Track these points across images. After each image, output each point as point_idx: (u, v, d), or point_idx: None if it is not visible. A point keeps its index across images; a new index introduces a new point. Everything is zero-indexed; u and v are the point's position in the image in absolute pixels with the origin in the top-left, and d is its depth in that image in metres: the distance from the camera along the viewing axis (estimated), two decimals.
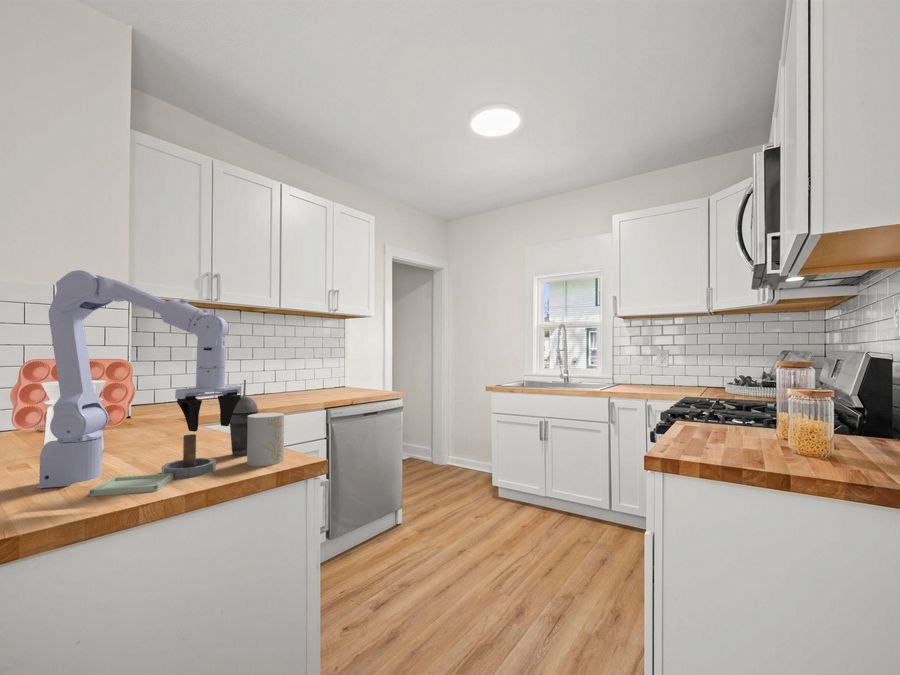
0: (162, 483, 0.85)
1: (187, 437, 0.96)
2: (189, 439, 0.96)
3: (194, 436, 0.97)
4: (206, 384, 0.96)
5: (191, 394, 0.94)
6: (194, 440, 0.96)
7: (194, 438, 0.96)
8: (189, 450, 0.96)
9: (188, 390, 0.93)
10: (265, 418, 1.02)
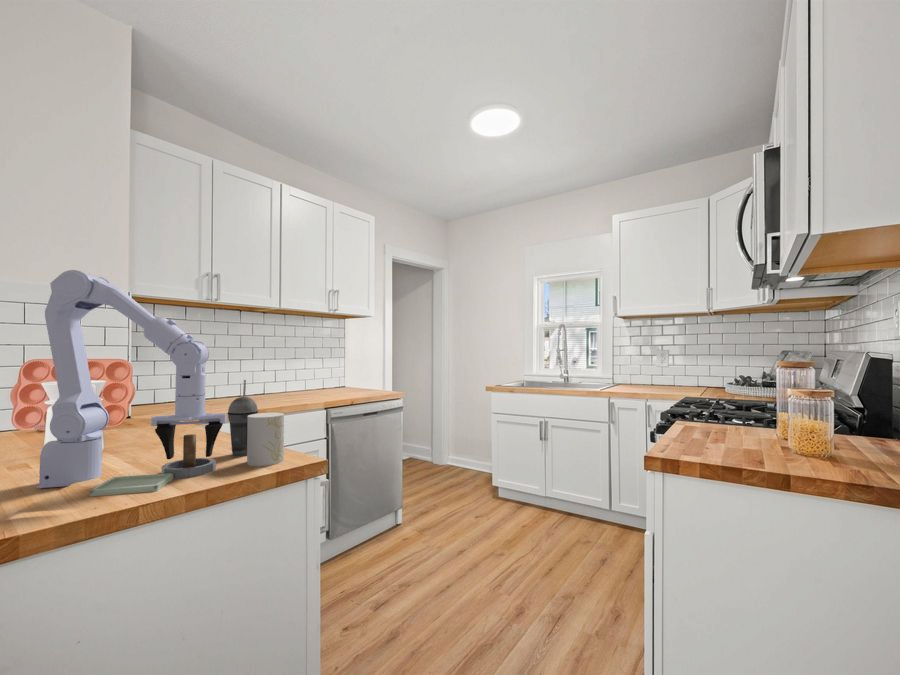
0: (162, 483, 0.85)
1: (187, 437, 0.96)
2: (189, 439, 0.96)
3: (194, 436, 0.97)
4: (176, 413, 0.95)
5: (166, 421, 0.95)
6: (194, 440, 0.96)
7: (194, 438, 0.96)
8: (189, 450, 0.96)
9: (158, 418, 0.94)
10: (265, 418, 1.02)
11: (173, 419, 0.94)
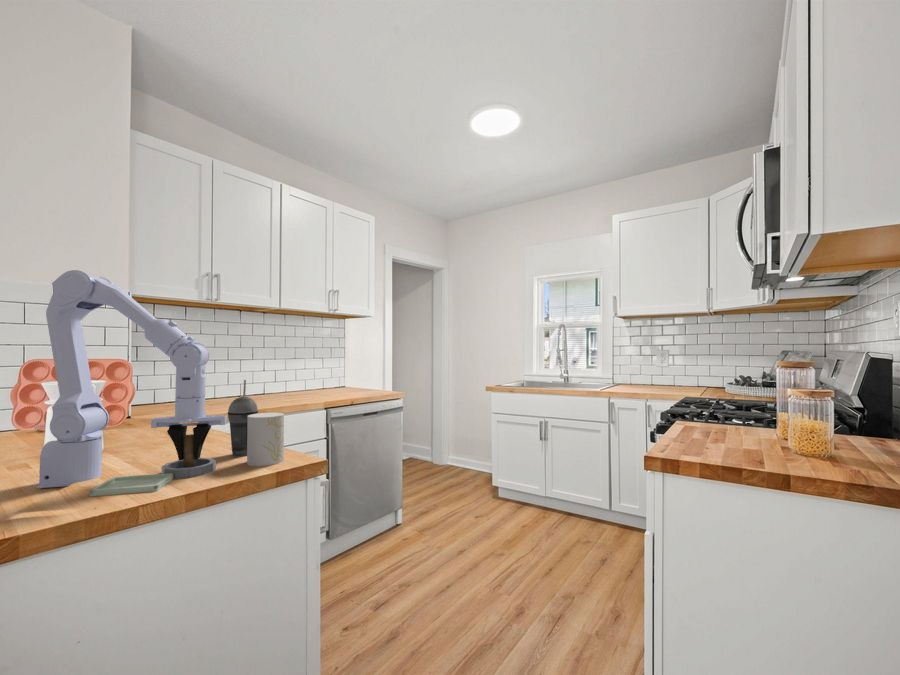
0: (162, 483, 0.85)
1: (187, 437, 0.96)
2: (189, 439, 0.96)
3: None
4: (176, 415, 0.95)
5: (166, 423, 0.95)
6: None
7: None
8: (189, 450, 0.96)
9: (158, 420, 0.94)
10: (265, 418, 1.02)
11: (173, 421, 0.94)
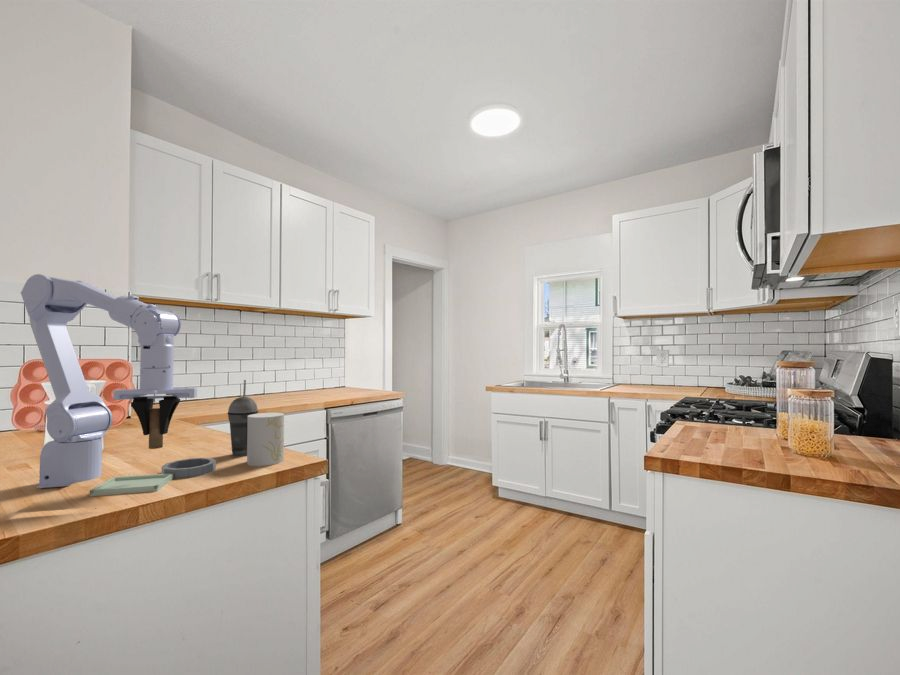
0: (162, 483, 0.85)
1: (153, 410, 0.89)
2: (155, 413, 0.89)
3: None
4: (140, 386, 0.88)
5: (130, 395, 0.89)
6: None
7: None
8: (155, 424, 0.89)
9: (121, 391, 0.88)
10: (265, 418, 1.02)
11: (137, 392, 0.87)
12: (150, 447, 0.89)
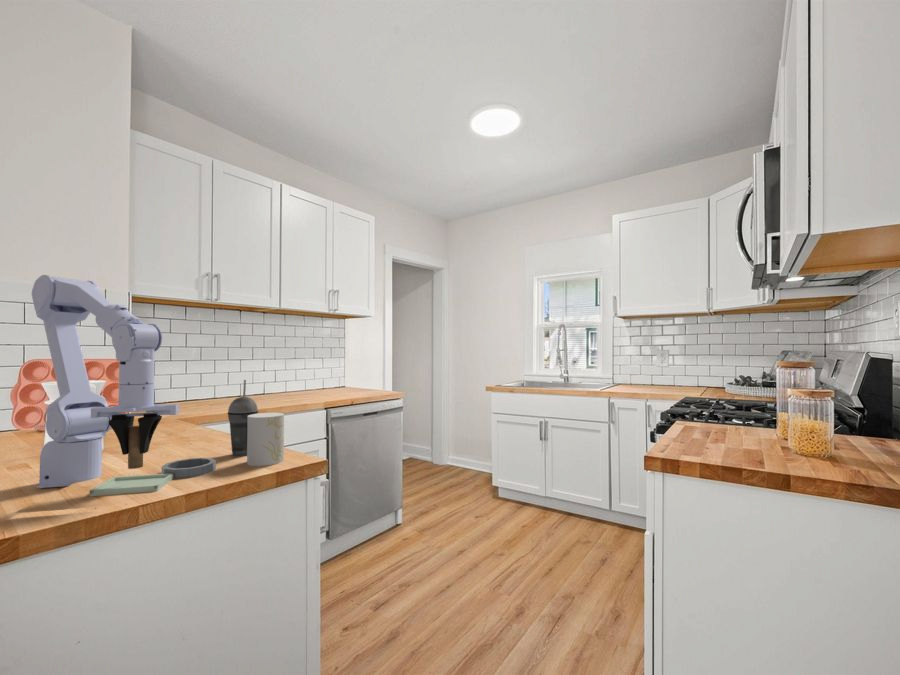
0: (162, 483, 0.85)
1: (132, 428, 0.85)
2: (134, 431, 0.85)
3: None
4: (119, 403, 0.84)
5: (109, 413, 0.85)
6: None
7: None
8: (134, 443, 0.85)
9: (99, 409, 0.84)
10: (265, 418, 1.02)
11: (115, 410, 0.84)
12: (129, 467, 0.85)
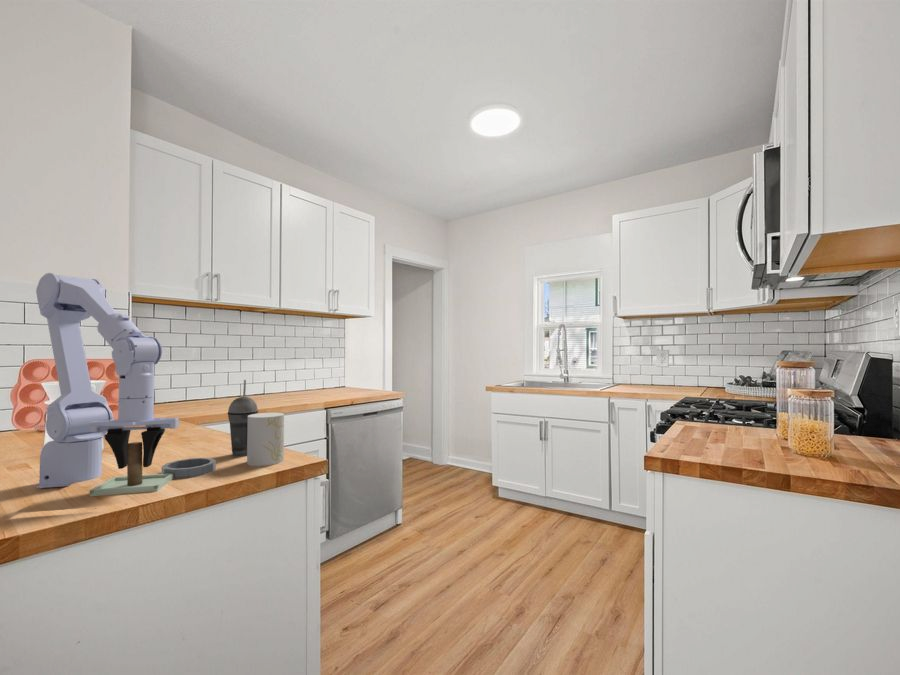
0: (162, 483, 0.85)
1: (130, 446, 0.85)
2: (133, 448, 0.85)
3: (139, 444, 0.86)
4: (118, 417, 0.84)
5: (108, 427, 0.85)
6: (139, 449, 0.86)
7: (139, 447, 0.86)
8: (133, 460, 0.85)
9: (99, 423, 0.84)
10: (265, 418, 1.02)
11: (115, 424, 0.84)
12: (129, 484, 0.85)
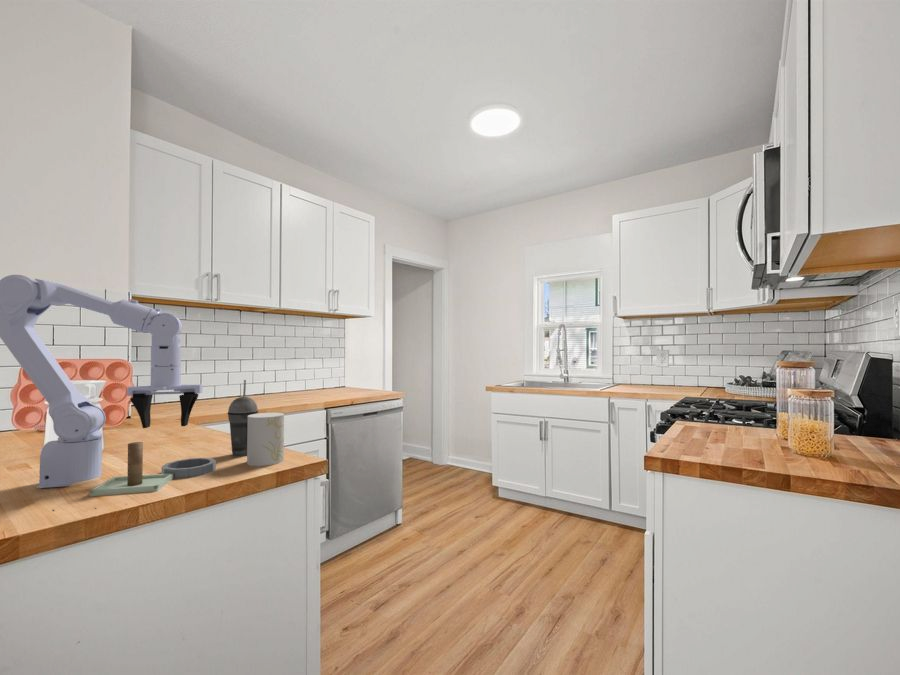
0: (162, 483, 0.85)
1: (131, 445, 0.85)
2: (134, 448, 0.85)
3: (140, 444, 0.86)
4: (151, 383, 0.97)
5: (142, 391, 0.98)
6: (140, 449, 0.86)
7: (140, 447, 0.86)
8: (133, 460, 0.85)
9: (134, 388, 0.96)
10: (265, 418, 1.02)
11: (148, 389, 0.96)
12: (129, 484, 0.85)
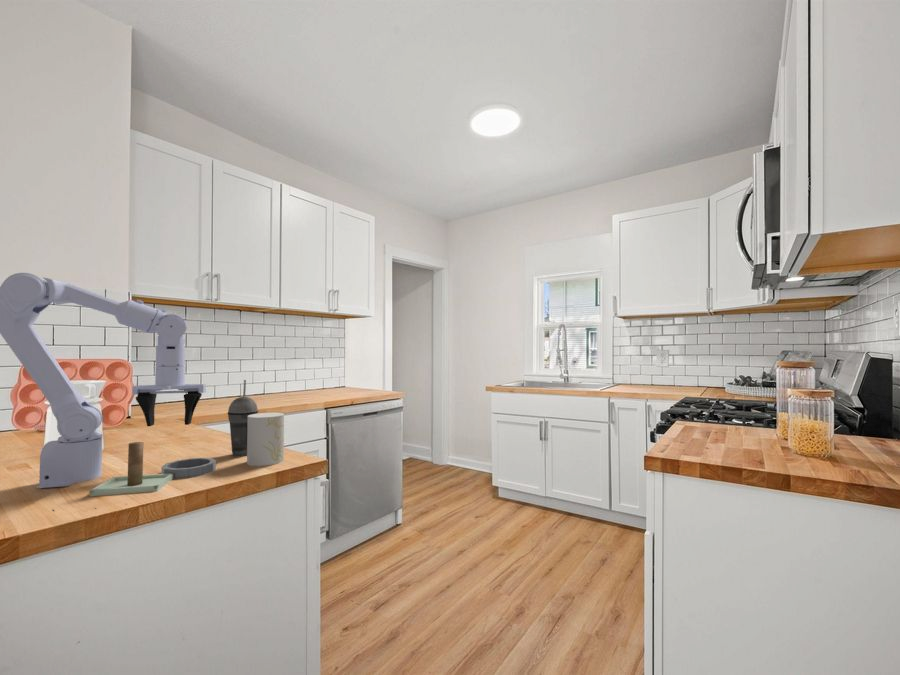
0: (162, 483, 0.85)
1: (132, 445, 0.85)
2: (134, 448, 0.85)
3: (140, 444, 0.86)
4: (156, 382, 0.99)
5: (147, 390, 1.00)
6: (140, 449, 0.86)
7: (140, 447, 0.86)
8: (134, 460, 0.85)
9: (139, 387, 0.99)
10: (265, 418, 1.02)
11: (153, 388, 0.98)
12: (129, 484, 0.85)
